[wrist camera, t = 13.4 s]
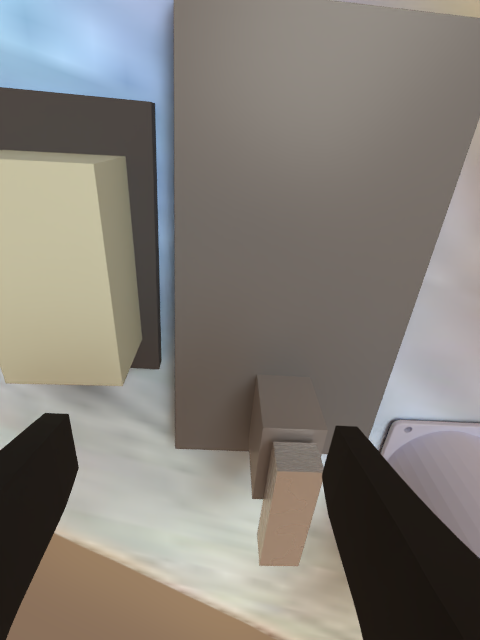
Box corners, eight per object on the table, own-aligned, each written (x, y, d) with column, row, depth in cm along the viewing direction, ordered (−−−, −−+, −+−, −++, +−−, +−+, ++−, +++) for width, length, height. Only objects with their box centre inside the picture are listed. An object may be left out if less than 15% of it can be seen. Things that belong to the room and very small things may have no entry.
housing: (485, 32, 14) (622, -21, 9) (355, 437, 24) (386, 514, 19) (179, -4, 13) (150, -83, 8) (178, 430, 23) (165, 508, 19)
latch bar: (316, 443, 16) (324, 472, 15) (293, 534, 19) (298, 565, 18) (273, 441, 16) (277, 471, 15) (257, 533, 19) (259, 565, 18)
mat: (154, 103, 15) (151, 102, 14) (161, 361, 21) (159, 369, 20) (-46, 83, 14) (-61, 81, 14) (20, 353, 20) (13, 361, 20)
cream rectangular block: (125, 156, 15) (93, 164, 11) (142, 339, 19) (122, 385, 16) (3, 149, 15) (-68, 155, 11) (47, 336, 19) (5, 383, 15)
